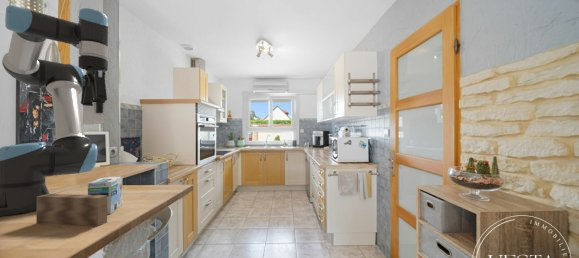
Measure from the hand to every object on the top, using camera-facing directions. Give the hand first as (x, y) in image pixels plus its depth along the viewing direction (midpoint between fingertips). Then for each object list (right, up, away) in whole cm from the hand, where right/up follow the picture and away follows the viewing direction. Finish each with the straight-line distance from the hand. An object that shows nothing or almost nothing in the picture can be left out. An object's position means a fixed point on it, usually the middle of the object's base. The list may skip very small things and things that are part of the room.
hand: (93, 124), depth 78 cm
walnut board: (+1, -30, -8) cm, 31 cm away
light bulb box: (+2, -30, +3) cm, 30 cm away
